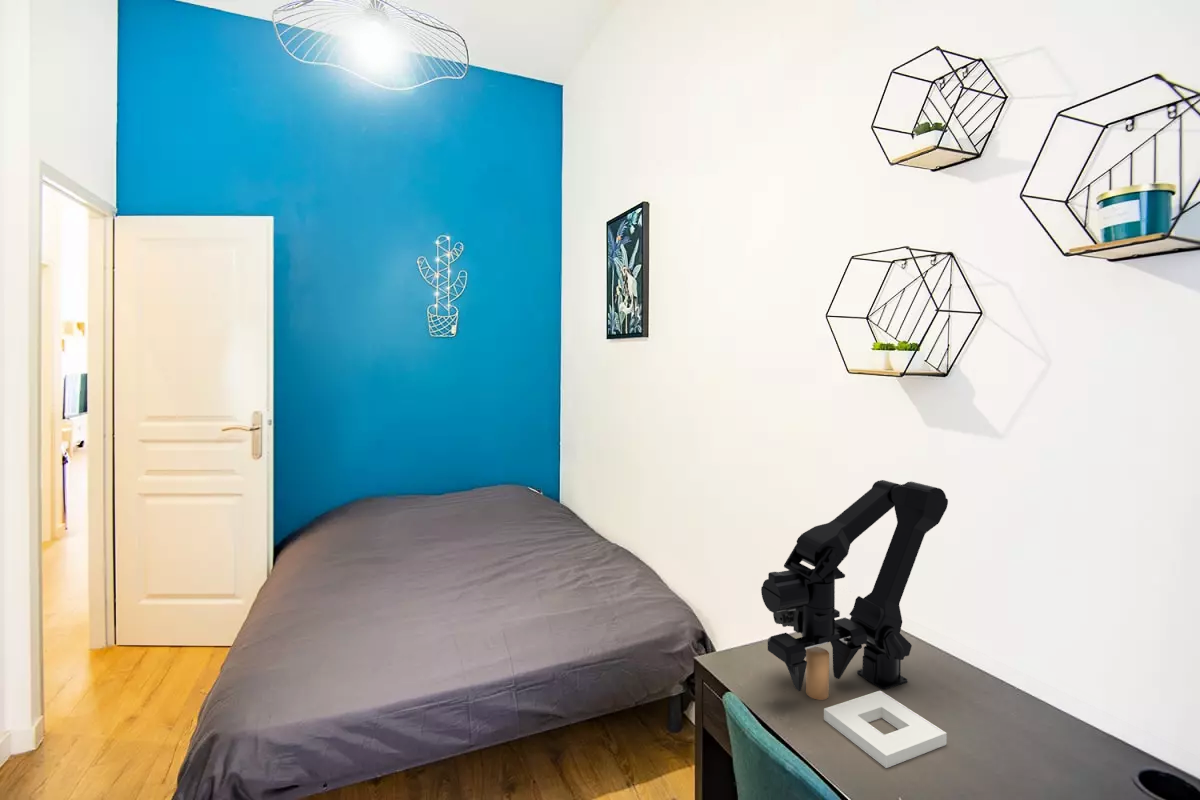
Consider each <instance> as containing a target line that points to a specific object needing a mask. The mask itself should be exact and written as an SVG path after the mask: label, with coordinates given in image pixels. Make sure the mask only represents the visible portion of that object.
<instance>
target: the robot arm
mask: <svg viewBox="0 0 1200 800" xmlns="http://www.w3.org/2000/svg"><path fill="white" fill-rule="evenodd" d="M948 504H949V499H948V498H947V496H946V492H944V490H942V488H939V487H935V486H933V485H931V486H930V485H928V484H923V483H919V482H915V481H907V482H905V483H903V484H901V483H896V482H892V481H889V480H884V479H881V480H877V481H875V482H874V483H873V484H872V486H871V488H870V489H869V490H868V491H867V492H865V493H864V494H862V496H861V497H859V498H858V499H857V500H856V501H854V502H853V503H851V505H849V506H848V507H847V508H846V509H844V511H843V512H841V513H840V514H839V515H837V516H836V517H835V518H833V519H832V520H831V521H829V522H827V523H823V524H819V525H815V526H813V527H812V528H810V529H807V530H806V531H804V532H803V533H801V535H800V536H798V538H797V540H796V544H795V546H794V547H793V549H792V551H791V552H790V554H789V556H788V557H787V559H786V561H785V563H784V564H783V567H784V569H786V570H783V571H772V572H768V579H765V580H764V581H763V583H762V586H761V590H760V591H761V598H762V601H763V603H764V606H765V607H766V608H767V610H768V611H769V612H771V613H772V616H773V620H774V623H775V624H776V625H777V624H778V625H782V627H783V628H785V627H793V631H794V632H796V633H797V634H799V633H800V634H801V637H798V638H797V637H796V638H795V637H793V635H790V634H789V633H787V632H782V633H778V634H775V635H771V636H770V637H768V640H767V652H770V653H771V654H772V655H773V656H775V657H776V658H778V659H779V660H780V661H782V662H783V663H784V664H785V666H786V668H787V670H788V673H789V676H790V678H791V680H792V684H793V687H794V688H795V690H796V691H798V692H800V691H802V688H803V683H804V680H805V676H806V665H807V661H806V649H808V648H812V647H819V646H823V645H826V644H829V643H830V645H831V648H832V672H833V677H834V678H835V679H837V680H840V679H841V677H842V676H843V674H844V672H845V671H846V669H847V667H848V666H849V664H850V663H851V661H852V660H853V658H854V657H855V655H856V654H857V653H858V651H859V650H860V649H862V647H863V655H862V669H858V670H856V673H857V675H859V676H860V677H862V678H863V679H865V680H867V681H868V682H870V683H871V684H873V685H874V686H876V687H877V688H879V689H881V690H888V689H891V688H895V687H897V686H901V685H903V684H906V683H908V678H906V677H904V676H903V675H901V673H902V672H901V667H902V666H901V664H902V663H901V662H902V661H903V660H904V659H905V658H906V657H909V656H910V653H911V650H912V646H913V644H912V643H911V642H909V641H908V639H906V638H905V637H904V635H902V634H901V629H902V625H903V617H902V613H901V606H900V604H901V603H900V602H901V600H902V597H903V595H904V591H905V588H906V586H907V584H908V582H909V579H910V575H911V572H912V570H913V567H914V564H915V562H916V559H917V556H918V555H919V551H920V548H921V545H922V544H923V543H922V542H924V538H925V536H926V534H927V533H928V532H930V531H931V530H932V529H933V528H934V527H936V526H937V525H939V523H940V522H941V520H942V518H943V516H944V514H945V512H946V511H947V509H948V508H947V507H948ZM893 508H894V513H895V517H896V522H897V523H896V527H895V529H894V531H893V535H892V537H891V539H890V543H889V544H888V548H887V550H886V554H885V555H884V559H883V561H882V564H881V567H880V569H879V572H878V574H877V578H876V580H875V583H874V585H873V587H872V590H871V592H869V594H867V595H866V596H864V597H862V596H860V595H859V596H857V597H856V598H855V600H854V604H853V608H852V610H850V613H848V614H849V616H850V619H849V618H847V617H841V616H840V615H841V611H840V610H838V609H836V607H835V602H836V601H835V600H836V598H835V596H836V595H835V593H836V591H835V589H836V588H835V587H836V580H839V579H844V578H846V574H845V573H844V572H843V571H841V570H840V569H839V566H840V564H841V563H842V562H843V561H844V560H845V558H847V556H848V554H849V553H850V552H849V551H850V549H851V548H850V546H851V544H853V543H854V541H855V540H856V539H857V538H859V537H860V536H861V535H862V534H863V533H864V532H866V530H868V529H869V528H871V526H873V525H874V524H875V523H877V522H878V521H879V520H880V519H881V518H882V517H884V515H886V514H887V513H888V512H889V511H891V510H892V509H893ZM801 562H804V563H806V564H808V565H810V566H812V567H814V568H810V567H808V566H806V565H804V564H802V563H801ZM840 617H841V618H840ZM836 618H838V619H836ZM863 645H865V646H863Z"/></svg>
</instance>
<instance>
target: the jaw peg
mask: <svg viewBox="0 0 1200 800" xmlns="http://www.w3.org/2000/svg"><path fill="white" fill-rule="evenodd" d="M805 661H807V665H806V670H805V694H806V695H807V696H808V697H809V698H811V699H815V700H819V701H825V700H827V699H828V698H829V695H830V652H829V651H828V650H827V649H825V648H823V647H819V646H816V647H812V648H808V649H806V657H805Z"/></svg>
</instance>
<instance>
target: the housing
mask: <svg viewBox="0 0 1200 800" xmlns="http://www.w3.org/2000/svg"><path fill="white" fill-rule="evenodd" d="M881 719H882V720H884V721H886V722H887V723H889V725H891V726H893V727H894V728H896V729H897V730H894V731H891V732H889V733H883V732H881V731H880V730H878V729H877V728H876V727H874V726H873V725H871V724H870V722H871V723H872V722H874V721H876V720H881ZM823 720H824V721H825V722H826V723H828V724H829V726H831V727H833V728H834V729H835V730H836V731H838V732H839V733H841V734H842V735H843V736H845V738H847V739H848V740H849V741H850V742H852V743H853V744H854V745H856V746H857V747H858V748H860V749H861V750H862V751H863V752H865V753H866V754H867V755H869V756H870V757H871V758H873V759H874V760H875V761H876V762H877V763H879V764H880V765H882V766H883V767H884V768H885V769H888V768H890V767H893V766H895V765H898V764H901V763H903V762H905V761H906V762H907V761H909V760H911V759H914V758H916V757H919V756H922V755H924V754H926V753H929V752H931V751H932V752H933V751H934V750H936V749H939V748H942V747H945V746H947V737H948V736H947V734H948V733H947V732H946V731H944V730H942V729H941V728H939V727H938V726H936V725H935V724H933V723H932V722H930V721H929V720H927V719H925V718H924V717H923V716H921V715H920V714H918V713H916V712H914V710H911V709H910V708H909V707H907V706H905V705H904V704H902V703H900V702H899V701H898V700H897V699H894V698H893V697H891V696H890V695H888V694H886V693H885V692H884V691H882V690H877V691H875V692H871V693H869V694H865V695H862V696H859V697H856V698H853V699H850V700H846V701H844V702H841V703H837V704H834V705H831V706H827V707H824V708H823Z"/></svg>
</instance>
